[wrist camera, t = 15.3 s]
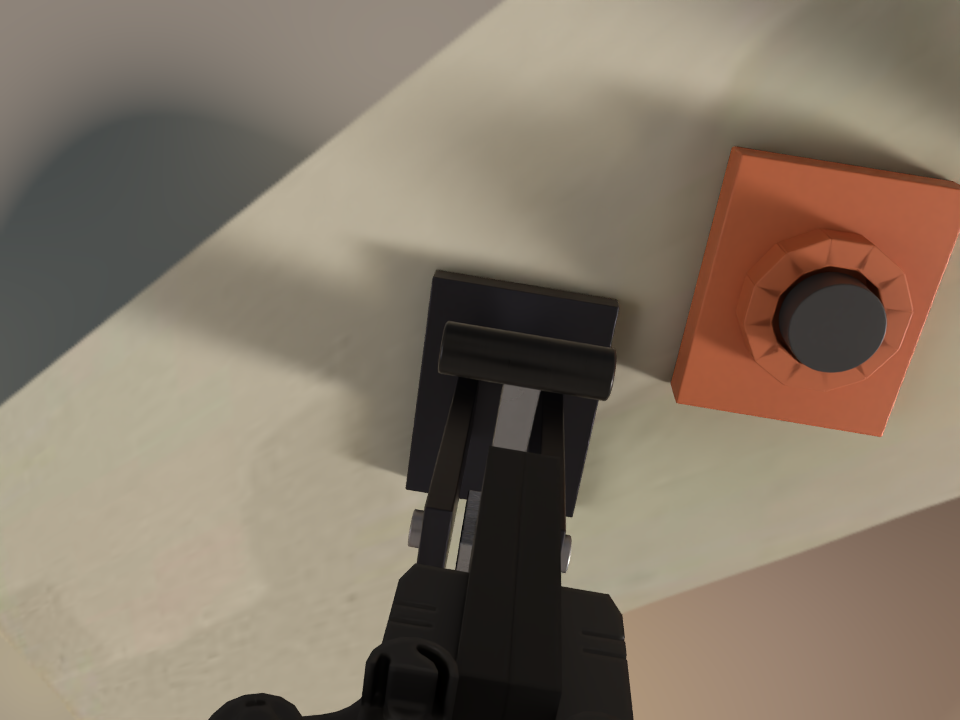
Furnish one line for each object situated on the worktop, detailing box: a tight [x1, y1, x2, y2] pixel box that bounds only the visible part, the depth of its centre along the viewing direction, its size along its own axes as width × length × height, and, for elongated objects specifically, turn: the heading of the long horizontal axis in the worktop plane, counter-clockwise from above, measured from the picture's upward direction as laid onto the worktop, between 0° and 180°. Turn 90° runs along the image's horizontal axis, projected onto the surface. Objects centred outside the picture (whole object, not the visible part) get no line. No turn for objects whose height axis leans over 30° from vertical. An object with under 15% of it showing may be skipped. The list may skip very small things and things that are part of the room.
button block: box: [671, 146, 960, 437], centre depth 39 cm, size 12×10×4 cm
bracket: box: [406, 270, 619, 573], centre depth 37 cm, size 12×9×15 cm
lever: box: [438, 321, 616, 572], centre depth 29 cm, size 12×5×2 cm, turn 172°
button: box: [779, 272, 887, 373], centre depth 37 cm, size 4×4×2 cm
